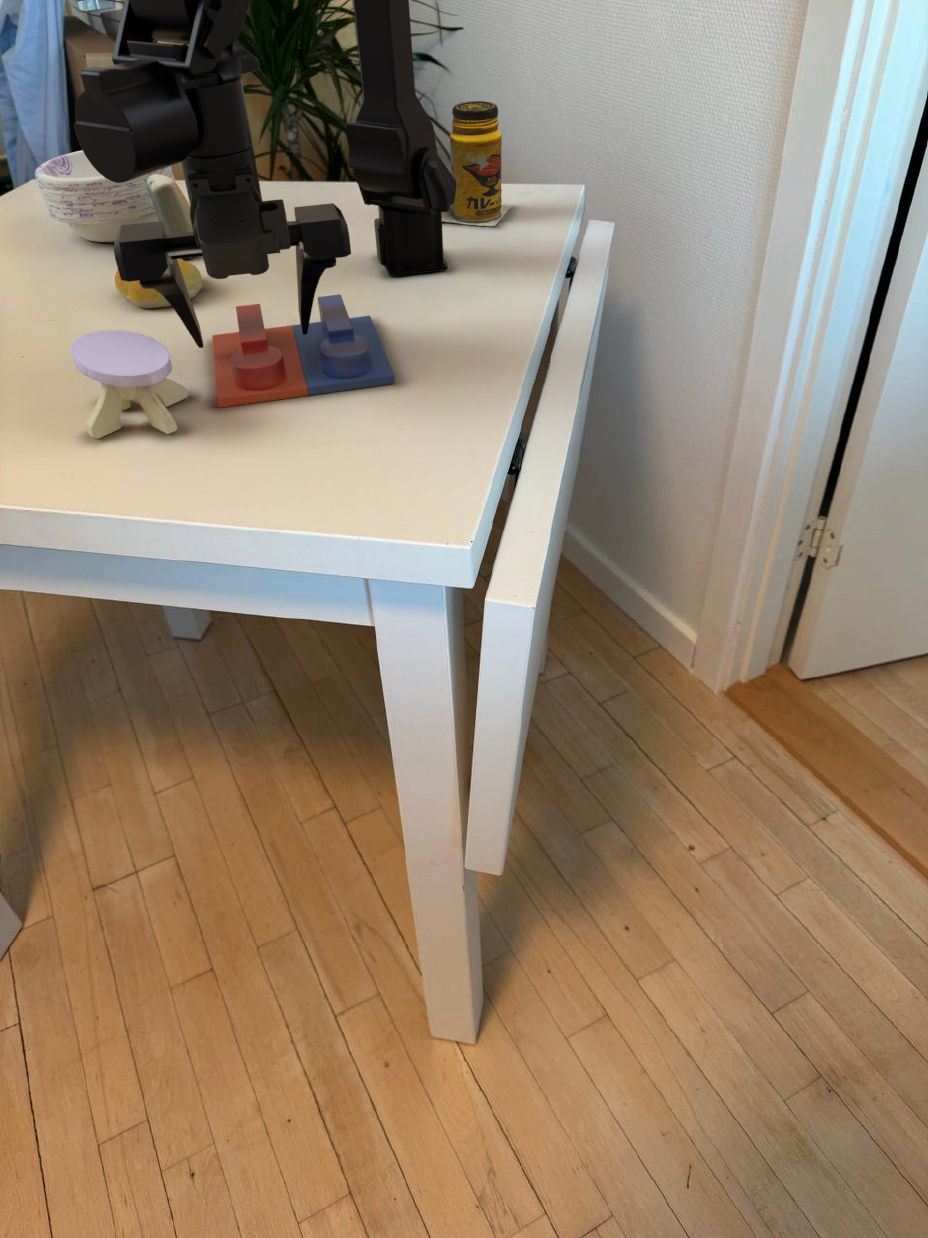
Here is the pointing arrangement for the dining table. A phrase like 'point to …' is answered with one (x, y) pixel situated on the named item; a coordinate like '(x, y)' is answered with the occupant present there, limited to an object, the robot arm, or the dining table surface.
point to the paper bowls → (94, 197)
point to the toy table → (127, 378)
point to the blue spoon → (341, 342)
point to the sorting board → (298, 364)
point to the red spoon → (255, 353)
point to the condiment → (476, 165)
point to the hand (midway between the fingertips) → (253, 339)
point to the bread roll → (151, 296)
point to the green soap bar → (170, 204)
